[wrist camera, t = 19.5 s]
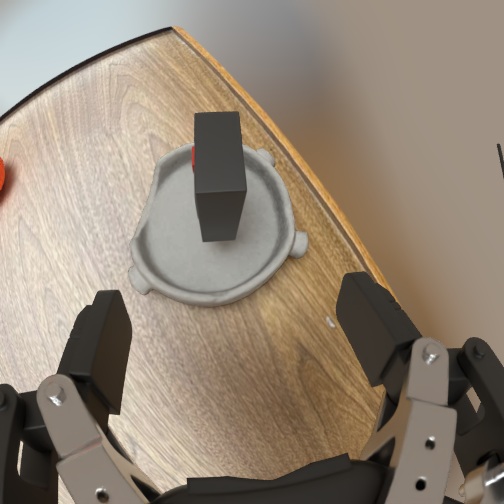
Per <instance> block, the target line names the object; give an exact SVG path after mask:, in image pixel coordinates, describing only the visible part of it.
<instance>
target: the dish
mask: <svg viewBox="0 0 504 504" xmlns="http://www.w3.org/2000/svg"><path fill="white" fill-rule="evenodd" d="M242 145H243V154H244V163H245V172H246V182H247V194H246V198H245V202H244V206H243V210H242V214H241V219H240V223H239V227H238V231H237V235H236V239H235V240H230V241H215V242H202V237H201V231H200V224H199V219H198V218H197V211H196V205H195V199H194V173H193V170H192V146H194V142H192V143H188V144H185V145H182V146H180V147H178V148H176V149H175V150H173V151H171V152H169V153H167V154H165V155H164V156H162V157H161V158H160V159H159V160H158V162H157V164H156V166H155V170H154V176H153V182H152V184H151V188H150V192H149V196H148V199H147V202H146V205H145V207H144V209H143V212H142V215H141V218H140V221H139V223H138V226H137V228H136V231H135V234H134V236H133V238H132V239H131V241H130V244H129V245H130V251H131V255H132V259H133V262H134V265H133V266H132V267H130V268H129V270H128V275H129V279H130V282H131V285H132V287H133V288H135V289H136V290H137V291H138V292H139V293H140V294H142V295H146V294H148V293H149V292H150V291H151V290H153V289H154V290H157V291H159V292H160V293H162V294H164V295H165V296H167V297H169V298H171V299H173V300H176V301H178V302H181V303H184V304H188V305H194V306H205V307H211V306H222V305H226V304H230V303H233V302H235V301H238V300H240V299H242V298H245V297H247V296H248V295H250V294H251V293H253V292H254V291H256V290H257V289H258V288H260V287H261V286H262V285H263V284H265V283H266V282H267V281H268V280H269V279H270V278H271V277H272V276H273V275H274V274H275V273H276V272H277V270H278V269H279V268H280V267H281V265H282V264H283V263H284V261H285V260H286V258H287V257H288V255H289V256H291V257H294V258H296V259H299V258H301V257H302V256H303V255H304V254H305V252H306V251H307V249H308V244H309V243H308V236H307V233H306V232H304V231H296V230H295V221H294V216H293V211H292V206H291V200H290V196H289V193H288V190H287V188H286V185H285V183H284V182H283V180H282V178H281V176H280V175H279V173H278V172H277V171H276V170H275V168H274V167H275V160H274V158H273V156H272V155H271V154H270V153H269V152H268V151H267V150H265V149H262V148H259V149H258V150H257V151H255V150H253V149H252V148H250V147H248V146H246V145H244V144H242Z"/></svg>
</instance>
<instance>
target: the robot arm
mask: <svg viewBox="0 0 504 504" xmlns="http://www.w3.org/2000/svg"><path fill="white" fill-rule="evenodd" d="M497 148H498V152H499V157H500V162H501V167H502V172H503V177H504V161H503V156H502V151H501V147H500V144H497ZM336 315H337V319H338V321H339V323H340V325H341V327H342V329H343V331H344V333H345V335H346V337H347V339H348V341H349V343H350V344H351V346H352V348H353V350H354V352H355V354H356V356H357V358H358V360H359V362H360V364H361V366H362V368H363V370H364V372H365V374H366V376H367V378H368V380H369V382H370V384H371V387H375V386H378V385H381V384H383V385H384V387H385V390H384V392H383V394H382V398H381V402H380V406H379V409H378V413H377V417H376V420H375V424H374V427H373V430H372V433H371V436H370V438H369V440H368V442H367V443H366V445H365V447H364V448H363V450H362V452H361V455H360V457H359V460H355V459H350V458H349V455H348V453H345V454H342V455H339V456H335V457H332V458H328V459H325V460H321V461H317V462H313V463H310V464H308V465H306V466H304V467H302V468H300V469H298V470H295V471H293V472H291V473H289V474H286V475H284V476H282V477H280V478H277V479H274V480H258V479H247V478H238V477H230V476H223V477H203V478H187V484H186V485H182V486H179V487H176V488H173V489H171V490H169V491H167V492H165V493H162V492H161V491H160V490H159V488H158V487H157V486H156V485H155V484H154V483H153V482H152V481H151V479H150V478H149V477H148V476H147V475H146V474H145V473H144V472H143V471H142V470H141V469H140V468H139V467H138V466H137V464H136V463H135V462H134V460H133V459H132V458H131V456H130V455H129V454H128V452H127V451H126V449H125V448H124V447H123V445H122V444H121V442H120V441H119V439H118V438H117V436H116V435H115V433H114V432H113V430H112V429H111V427H110V426H109V424H108V418H109V414H114V415H120V410H121V402H122V394H123V387H124V380H125V374H126V368H127V362H128V356H129V351H130V345H131V340H132V325H131V321H130V318H129V315H128V313H127V310H126V307H125V304H124V301H123V298H122V295H121V293H120V291H119V290H101V291H98V292H97V294H96V296H95V299H94V301H93V304H92V305H87V306H86V307H85V308H84V309H83V310H82V311H81V312H80V313H79V314H78V316H77V318H76V321H75V323H74V326H73V329H72V331H71V333H70V338H69V339H68V341H67V344H66V347H65V350H64V352H63V355H62V358H61V361H60V364H59V367H58V370H57V373H56V374H55V375H51V376H49V377H47V378H46V379H45V380H44V381H43V382H42V383H41V384H40V386H39V388H38V390H36V391H31V392H25V393H19V394H18V392H17V391H16V390H15V389H14V388H13V387H12V386H11V385H9V384H0V504H58V474H59V475H60V477H61V479H62V481H63V483H64V485H65V486H66V488H67V490H68V492H69V494H70V495H71V497H72V499H73V500H74V502H75V504H504V367H503V366H502V364H501V363H500V361H499V359H498V358H497V356H496V355H495V354H494V352H493V351H492V349H491V348H490V346H489V345H488V344H487V343H486V342H485V341H484V340H482V339H479V338H476V337H472V338H469V339H468V340H467V341H466V342H465V344H464V345H463V347H462V348H453V349H446V348H445V347H444V345H443V344H442V343H441V342H439V341H438V340H436V339H434V338H430V337H422V335H421V334H420V332H419V331H418V330H417V328H416V327H415V325H414V324H413V323H412V321H411V320H410V319H409V317H408V316H407V314H406V313H405V312H404V310H401V306H400V305H399V304H398V303H397V302H396V301H395V299H394V297H393V296H392V295H391V293H390V292H389V291H388V290H387V289H385V288H384V287H382V286H381V285H380V284H378V283H374V281H373V280H372V279H371V277H370V276H369V275H368V274H367V273H366V272H364V271H363V272H354V273H346V274H345V275H344V277H343V280H342V284H341V288H340V292H339V296H338V300H337V304H336ZM471 387H473V388H474V390H475V392H476V394H477V396H478V397H479V399H480V401H481V403H482V405H483V407H484V410H485V414H484V418H483V419H482V420H480V419H479V417H478V415H477V413H476V411H475V410H474V408H473V406H472V404H471V402H470V400H469V398H468V396H467V394H466V393H467V391H468V390H469V389H470V388H471ZM20 440H21V441H22V442H23V450H22V458H21V468H20V476H19V474H18V470H17V463H18V454H19V447H20ZM453 449H454V452H455V454H456V457H457V459H458V462H459V464H460V467H461V470H462V472H463V475H464V478H465V482H464V484H462V485H461V486H460V488H459V495H460V496H462V497H465V500H464V503H462V502H459V501H457V500H454V499H452V498H450V497H447V496H445V491H446V487H447V482H448V477H449V473H450V467H451V461H452V455H453Z"/></svg>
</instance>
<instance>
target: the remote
mask: <svg viewBox="0 0 504 504" xmlns="http://www.w3.org/2000/svg"><path fill="white" fill-rule="evenodd" d="M192 170H193V173H194V199H195V205H196V211H197V218H198V219H199V224H200V231H201V237H202V242H215V241H230V240H235V239H236V235H237V231H238V227H239V223H240V219H241V214H242V210H243V206H244V202H245V198H246V194H247V182H246V172H245V163H244V154H243V145H242V135H241V126H240V117H239V112H238V111H232V112H204V113H195V115H194V146H192Z"/></svg>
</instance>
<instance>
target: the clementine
mask: <svg viewBox="0 0 504 504" xmlns="http://www.w3.org/2000/svg"><path fill="white" fill-rule="evenodd" d="M4 179H5V167H4V163H3V160H2V159H1V157H0V190H1V189H2V186H3V183H4Z"/></svg>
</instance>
